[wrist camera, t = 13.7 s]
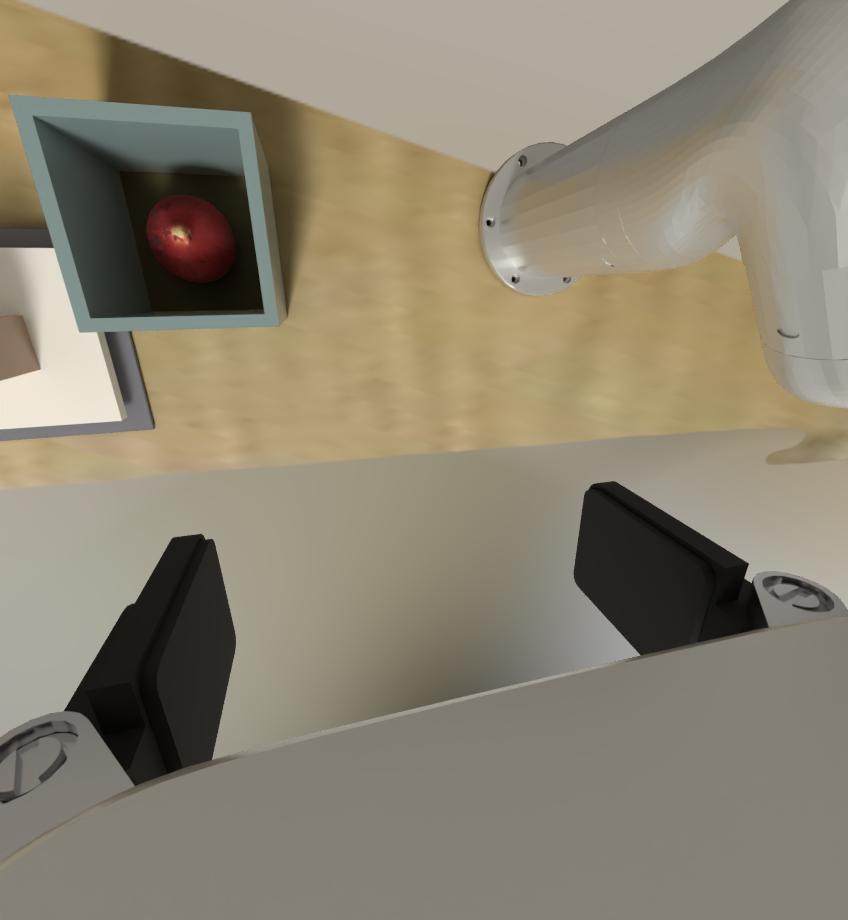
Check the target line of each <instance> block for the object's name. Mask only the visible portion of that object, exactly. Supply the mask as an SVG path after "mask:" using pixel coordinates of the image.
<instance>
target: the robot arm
mask: <svg viewBox="0 0 848 920" xmlns="http://www.w3.org/2000/svg"><path fill="white" fill-rule="evenodd" d="M518 161H519V162H520V165H519V164H518ZM486 221H489V223H490V224H489V226H487V223H486ZM479 233H480V242H481V246H482V250H483V254H484V257H485V259H486V261H487V263H488V265H489V267H490V269H491V270H492V272H493V273H494V274H495V276H496V277H497V278H498V279H499V280H500V281H501V282H502V283H503V284H504V285H505V286H507V287H509V288H510V289H512V290H513V291H515V292H518V293H521V294H524V295H533V296H542V295H549V294H553V293H557V292H559V291H561V290H563V289H565V288H567V287H569V286H570V285H571V284H573V283H574V282H576V281H577V280H578V279H579V278H580V277H581V276H590V275H605V274H619V273H634V272H649V271H660V270H670V269H676V268H680V267H684V266H687V265H689V264H692V263H695V262H697V261H699V260H701V259H703V258H705V257H706V256H708V255H710V254H711V253H713V252H715V251H716V250H718V249H719V248H720V247H722V246H723V245H724V244H725V243H726V242H728V241H729V240H730V239H731V238H732V237H734V236H735V235H736V234H737V238H738V242H739V246H740V251H741V256H742V261H743V264H744V265H745V266H746V271H747V276H748V281H749V286H750V291H751V296H752V301H753V306H754V311H755V316H756V321H757V326H758V331H759V334H760V339H761V343H762V348H763V352H764V356H765V359H766V362H767V365H768V367H769V370H770V372H771V374H772V376H773V377H774V379H775V380H776V381H777V382H778V384H779V385H780V386H781V387H782V388H783V389H785V390H786V391H787V392H789V393H790V394H792V395H794V396H796V397H798V398H800V399H802V400H805V401H808V402H812V403H815V404H819V405H824V406H831V407H840V408H848V0H789V1H788V2H787V3H786V4H784V5H783V6H782V7H781V8H779V9H778V10H777V11H776V12H774V13H773V14H772V15H771V16H769V17H768V18H767V19H766V20H764V21H763V22H762V23H761V24H759V25H758V26H757V27H756V28H754V29H753V30H752V31H751V32H749V33H748V34H747V35H745V36H744V37H742V38H741V39H740V40H738V41H737V42H736V43H734V44H733V45H732V46H730V47H729V48H728V49H726V50H725V51H723V52H722V53H721V54H719V55H718V56H717V57H715V58H714V59H712V60H711V61H709V62H707V63H706V64H704V65H703V66H701V67H700V68H698V69H697V70H695V71H694V72H692V73H690V74H689V75H687V76H686V77H684V78H683V79H681V80H679V81H678V82H676V83H675V84H673V85H672V86H670V87H668V88H666V89H665V90H663V91H661V92H659V93H658V94H656V95H654V96H653V97H651V98H649V99H648V100H646V101H644V102H642V103H641V104H639V105H637V106H636V107H634V108H632V109H630V110H629V111H627V112H625V113H623V114H622V115H620V116H618V117H617V118H615V119H613V120H611V121H610V122H608V123H606V124H604V125H603V126H601V127H599V128H598V129H596V130H594V131H593V132H591V133H589V134H587V135H585V136H584V137H582V138H580V139H579V140H577V141H575V142H573V143H572V144H570V145H568V146H566V145H563V144H558V143H553V142H548V143H538V144H535V145H532V146H528V147H526V148H525V149H523V150H521V151H519V152H518V153H516V154H515V155H513V156H512V157H511V158H509V159H508V160H507V161H506V162H505V163H504V164H503V165H502V166H501V167H500V168H499V169H498V170H497V172H496V173H495V175H494V177H493V178H492V180H491V181H490V183H489V185H488V188H487V190H486V192H485V195H484V197H483V201H482V206H481V210H480V219H479ZM512 277H513V278H514V281H513V282H512V280H511V278H512ZM563 277H564V281H563ZM748 565H749V564H748V563H746V562H745V561H744V560H742V559H740V558H738V557H737V556H735V555H734V554H732V553H731V552H729V551H727V550H726V549H724V548H722V547H721V546H719V545H717V544H716V543H714V542H713V541H711V540H709V539H708V538H706V537H705V536H703V535H701V534H700V533H698V532H696V531H695V530H693V529H692V528H690V527H688V526H686V525H685V524H683V523H682V522H680V521H679V520H677V519H675V518H674V517H672V516H670V515H668V514H667V513H665V512H664V511H662V510H661V509H659V508H657V507H656V506H654V505H653V504H651V503H649V502H648V501H646V500H644V499H643V498H641V497H640V496H638V495H636V494H635V493H633V492H631V491H630V490H628V489H627V488H625V487H623V486H622V485H620V484H618V483H617V482H614V481H612V482H604V483H596V484H593V485H591V486H590V488H589V490H587V491H586V492H585V495H584V502H583V508H582V515H581V523H580V531H579V537H578V545H577V552H576V559H575V566H574V579H575V582H576V584H577V586H578V587H579V588H580V589H581V590H582V591H583V593H584V594H585V595H586V596H587V597H588V598H589V599H590V600H591V601H592V602H593V603H594V605H595V606H596V607H597V608H598V609H599V610H600V611H601V612H602V613H603V614H604V616H605V617H606V618H607V619H608V620H609V621H610V622H611V623H612V624H613V625H614V626H615V627H616V629H617V630H618V631H619V632H620V633H621V634H622V635H623V636H624V637H625V639H627V641H628V642H629V643H630V644H631V645H632V646H633V647H634V648H635V649H636V651H637V652H638V653H639V654H640V655H641V656H637V657H633V658H628V659H624V660H619V661H615V662H611V663H606V664H602V665H598V666H593V667H589V668H585V669H580V670H576V671H572V672H568V673H563V674H559V675H555V676H551V677H546V678H542V679H538V680H533V681H529V682H525V683H520V684H517V685H512V686H508V687H503V688H499V689H495V690H491V691H486V692H482V693H478V694H474V695H469V696H465V697H461V698H457V699H453V700H449V701H444V702H440V703H436V704H432V705H428V706H424V707H420V708H415V709H412V710H407V711H403V712H399V713H394V714H391V715H386V716H382V717H378V718H374V719H370V720H365V721H361V722H357V723H353V724H349V725H345V726H341V727H336V728H333V729H328V730H324V731H320V732H316V733H312V734H308V735H304V736H300V737H296V738H292V739H288V740H284V741H280V742H276V743H272V744H268V745H264V746H261V747H257V748H254V749H250V750H246V751H242V752H239V753H235V754H232V755H228V756H225V757H221V758H217V759H214V760H212V757H213V752H214V747H215V742H216V738H217V733H218V729H219V724H220V719H221V715H222V710H223V704H224V700H225V695H226V691H227V686H228V682H229V677H230V672H231V668H232V663H233V658H234V654H235V647H236V636H235V630H234V626H233V622H232V617H231V612H230V608H229V604H228V599H227V595H226V590H225V586H224V582H223V577H222V573H221V568H220V564H219V559H218V555H217V551H216V546H215V543H214V541H213V539H208V540H205V538H204V536H203V535H202V534H197V535H189V536H182V537H174V538H172V540H171V541H170V543H169V545H168V546H167V548H166V550H165V552H164V554H163V555H162V557H161V559H160V560H159V562H158V564H157V566H156V567H155V569H154V571H153V573H152V575H151V576H150V578H149V580H148V581H147V583H146V585H145V587H144V588H143V590H142V592H141V594H140V596H139V597H138V599H137V601H136V602H135V604H131V605H129V606H127V607H126V608H125V610H124V611H123V612H122V614H121V616H120V617H119V619H118V621H117V622H116V624H115V626H114V627H113V629H112V631H111V632H110V634H109V636H108V638H107V639H106V641H105V643H104V644H103V646H102V648H101V649H100V651H99V653H98V654H97V656H96V658H95V660H94V661H93V663H92V665H91V666H90V668H89V670H88V671H87V673H86V675H85V676H84V678H83V680H82V681H81V683H80V685H79V686H78V688H77V690H76V692H75V693H74V695H73V697H72V698H71V700H70V702H69V703H68V705H67V707H66V708H65V710H64V712H57V713H50V714H47V715H44V716H41V717H38V718H36V719H32V720H30V721H28V722H26V723H24V724H22V725H20V726H18V727H16V728H14V729H12V730H10V731H9V732H8V733H6V734H5V735H3V736H2V737H0V920H848V610H847V608H846V607H845V605H844V603H843V602H842V601H841V600H840V599H839V598H838V596H836V595H835V594H834V593H832V592H831V591H829V590H828V589H827V588H825V587H823V586H821V585H819V584H817V583H815V582H813V581H811V580H808V579H805V578H803V577H800V576H796V575H793V574H789V573H783V572H776V571H769V572H762V573H758V574H757V575H756V576H755V577H754V578H753V581H752V583H750V582H748V581H747V580H746V579H744V577H745V574H746V571H747V568H748Z"/></svg>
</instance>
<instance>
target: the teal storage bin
mask: <svg viewBox="0 0 848 920" xmlns="http://www.w3.org/2000/svg"><path fill="white" fill-rule="evenodd" d="M8 96H9V99H10V102H11V106H12V109H13V112H14V116H15V119H16V123H17V126H18V129H19V133H20V136H21V139H22V143H23V146H24V149H25V153H26V156H27V159H28V163H29V166H30V169H31V173H32V176H33V179H34V183H35V186H36V189H37V193H38V196H39V199H40V203H41V206H42V210H43V213H44V216H45V220H46V223H47V226H48V230H49V233H50V236H51V240H52V243H53V246H54V250H55V253H56V256H57V260H58V263H59V266H60V270H61V273H62V276H63V280H64V283H65V286H66V290H67V293H68V297H69V300H70V303H71V307H72V310H73V313H74V317H75V320H76V323H77V327H78V330H79V333H86V332H118V331H151V330H183V329H215V328H247V327H279V326H280V325H281V324H282V323H283V322H284V321H285V320H286V319H287V310H286V302H285V294H284V286H283V278H282V270H281V262H280V255H279V247H278V239H277V231H276V223H275V215H274V207H273V199H272V191H271V183H270V175H269V167H268V163H267V160H266V157H265V154H264V151H263V148H262V145H261V142H260V139H259V136H258V133H257V130H256V127H255V124H254V121H253V118H252V115H251V112H239V111H225V110H211V109H197V108H184V107H170V106H156V105H143V104H129V103H115V102H101V101H88V100H74V99H60V98H47V97H33V96H19V95H8ZM119 171H131V172H155V173H179V174H203V175H227V176H245V180H246V187H247V194H248V201H249V208H250V215H251V222H252V229H253V236H254V243H255V250H256V257H257V264H258V271H259V278H260V285H261V292H262V299H263V306H264V309H252V310H207V311H163V312H152V309H151V305H150V301H149V297H148V292H147V288H146V284H145V280H144V275H143V271H142V267H141V263H140V258H139V254H138V250H137V246H136V241H135V237H134V233H133V228H132V224H131V220H130V216H129V211H128V207H127V203H126V199H125V194H124V190H123V186H122V182H121V177H120V173H119Z"/></svg>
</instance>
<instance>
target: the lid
mask: <svg viewBox="0 0 848 920" xmlns="http://www.w3.org/2000/svg"><path fill="white" fill-rule="evenodd" d="M125 418H127V413H126V410H125V406H124V402H123V399H122V395H121V392H120V388H119V384H118V381H117V377H116V374H115V370H114V366H113V363H112V359H111V356H110V352H109V348H108V345H107V341H106V338H105V334H104V332H86V333H79V330H78V327H77V323H76V320H75V317H74V313H73V310H72V307H71V303H70V300H69V297H68V293H67V290H66V286H65V283H64V280H63V276H62V273H61V270H60V266H59V263H58V260H57V256H56V253H55V250H54V248H0V429H14V428H28V427H42V426H56V425H70V424H84V423H98V422H112V421H122V420H124V419H125Z"/></svg>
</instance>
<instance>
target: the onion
mask: <svg viewBox="0 0 848 920" xmlns="http://www.w3.org/2000/svg"><path fill="white" fill-rule="evenodd" d="M146 234H147V238H148V242H149V247H150V250H151V252H152V253H153V254H154V256H155V257H156V258H157V260H158V261H159V262H160V264H161V265H162V267H164V268H165V269H167V270H168V271H170V272H171V273H173V274H174V275H175V276H177V277H178V278H182V279H185V280H188V281H192V282H195V283H203V282H213V281H215V280H217V279H219V278H221V277H223V276H225V275H226V273H227V272H228V271H229V270H230V268H231V267H232V266H233V264H234V261H235V256H236V251H237V249H236V243H235V238H234V233H233V231H232V229H231V227H230V225H229V223H228V222H227V220H226V218H225V216H224V215H223V214H222V213H221V212H220V211H218V210H217V209H216V208H215V207H214V206H213V205H212V204H211V203H209V202H207V201H204V200H202V199H199V198H197V197H194V196H191V195H172V196H170V197H167V198H164V199H162V200H159V201H158V203H157V204H156V205H155V206H154V207H153V209H152V210H151V211H150V212H149V216H148V221H147V226H146Z"/></svg>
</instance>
